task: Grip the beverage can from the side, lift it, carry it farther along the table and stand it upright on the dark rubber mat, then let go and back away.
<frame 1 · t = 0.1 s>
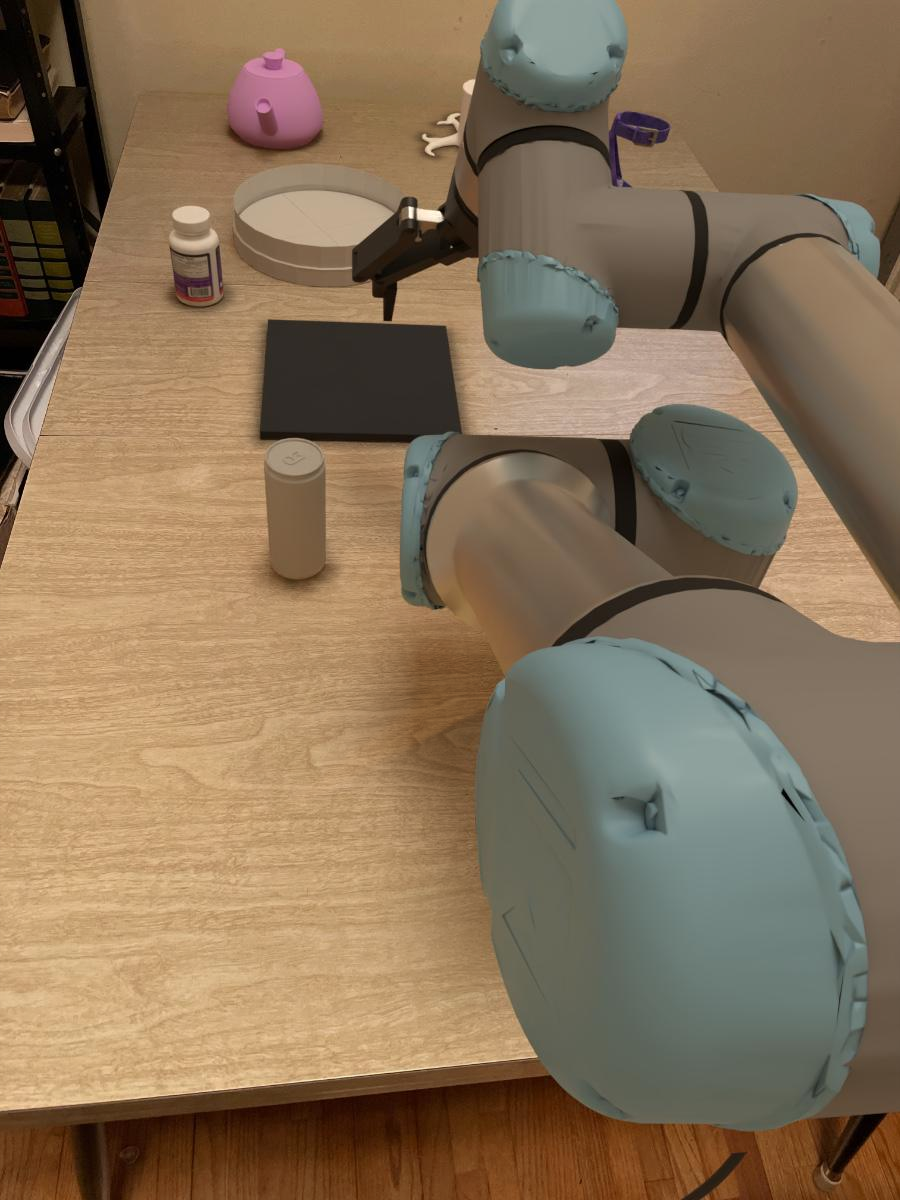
hand: (463, 309, 86), 15 cm above the table, tool tilted 35°, fingers open, 13 cm apart
tree stump: (482, 145, 146), on the table
pill bottle: (200, 297, 111), on the table
sandal: (647, 235, 132), on the table
teapot: (275, 136, 142), on the table
mat: (359, 382, 102), on the table
dish: (322, 242, 122), on the table
beverage can: (298, 564, 84), on the table
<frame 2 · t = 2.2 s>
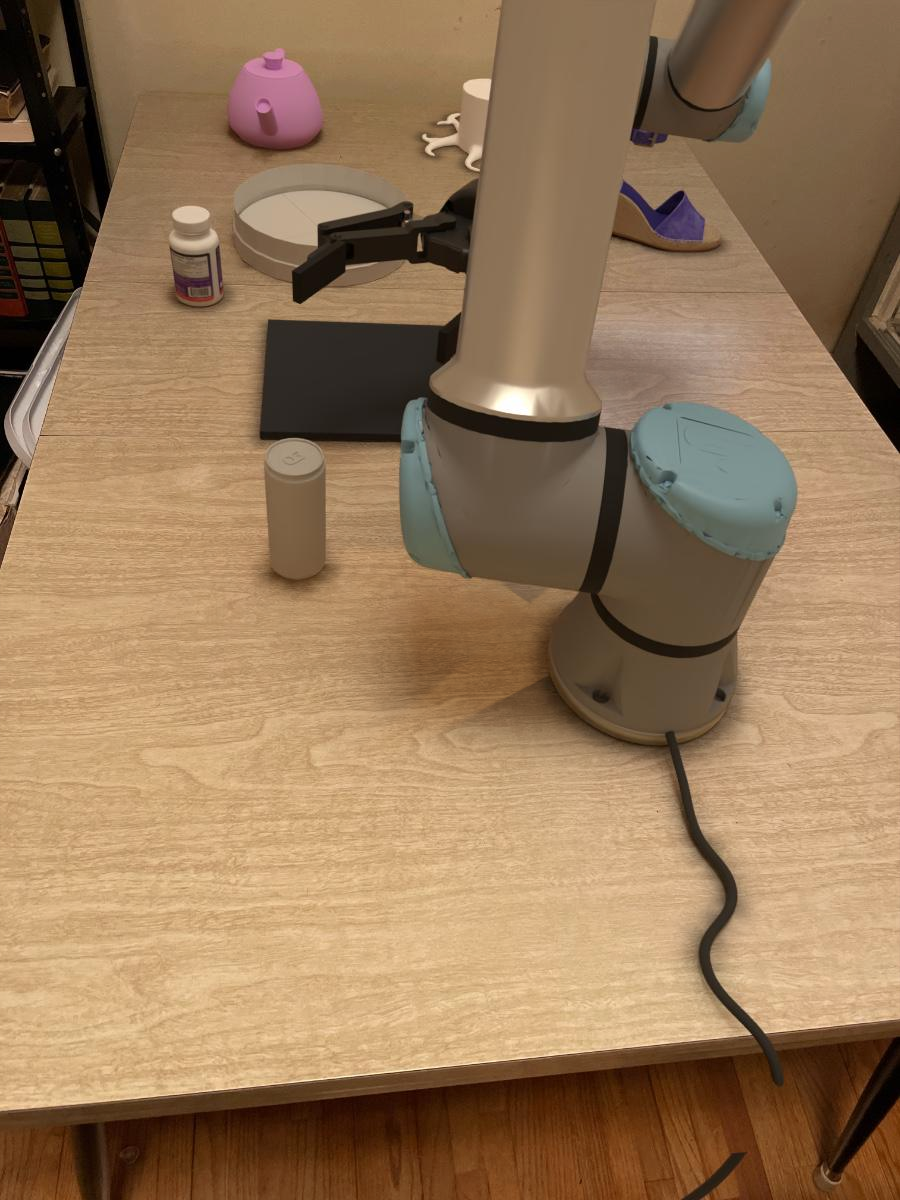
hand: (366, 317, 75), 20 cm above the table, tool horizontal, fingers open, 13 cm apart
nothing on the table moved.
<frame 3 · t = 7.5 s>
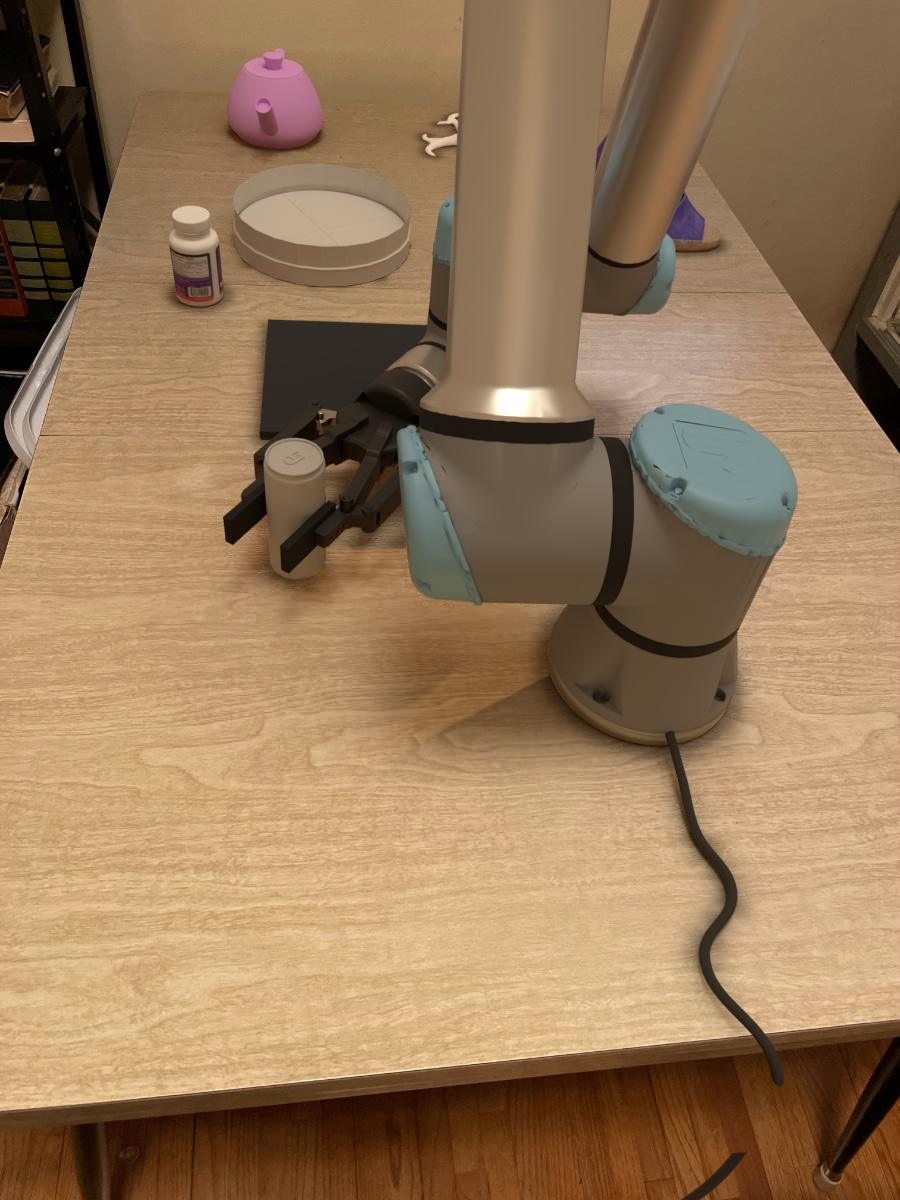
hand: (256, 545, 76), 7 cm above the table, tool horizontal, fingers closed on beverage can, 5 cm apart
beverage can: (298, 565, 84), on the table, touching gripper
everything else where it was.
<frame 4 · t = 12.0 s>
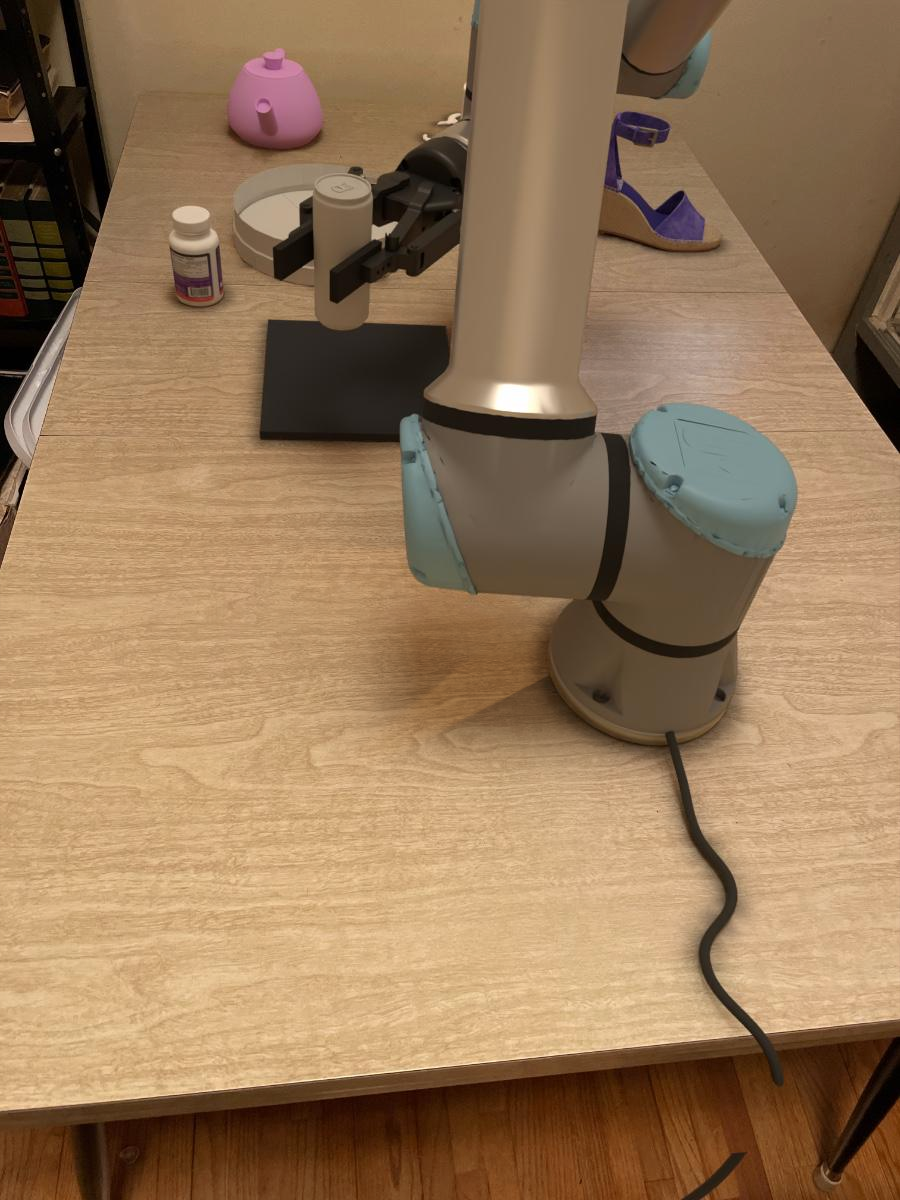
hand: (305, 275, 78), 20 cm above the table, tool horizontal, fingers closed on beverage can, 5 cm apart
beverage can: (341, 320, 86), point 13 cm above the table, touching gripper
everything else where it was.
when the fingers open (7 cm above the table, at t = 17.0 s): beverage can stays where it is, resting on mat.
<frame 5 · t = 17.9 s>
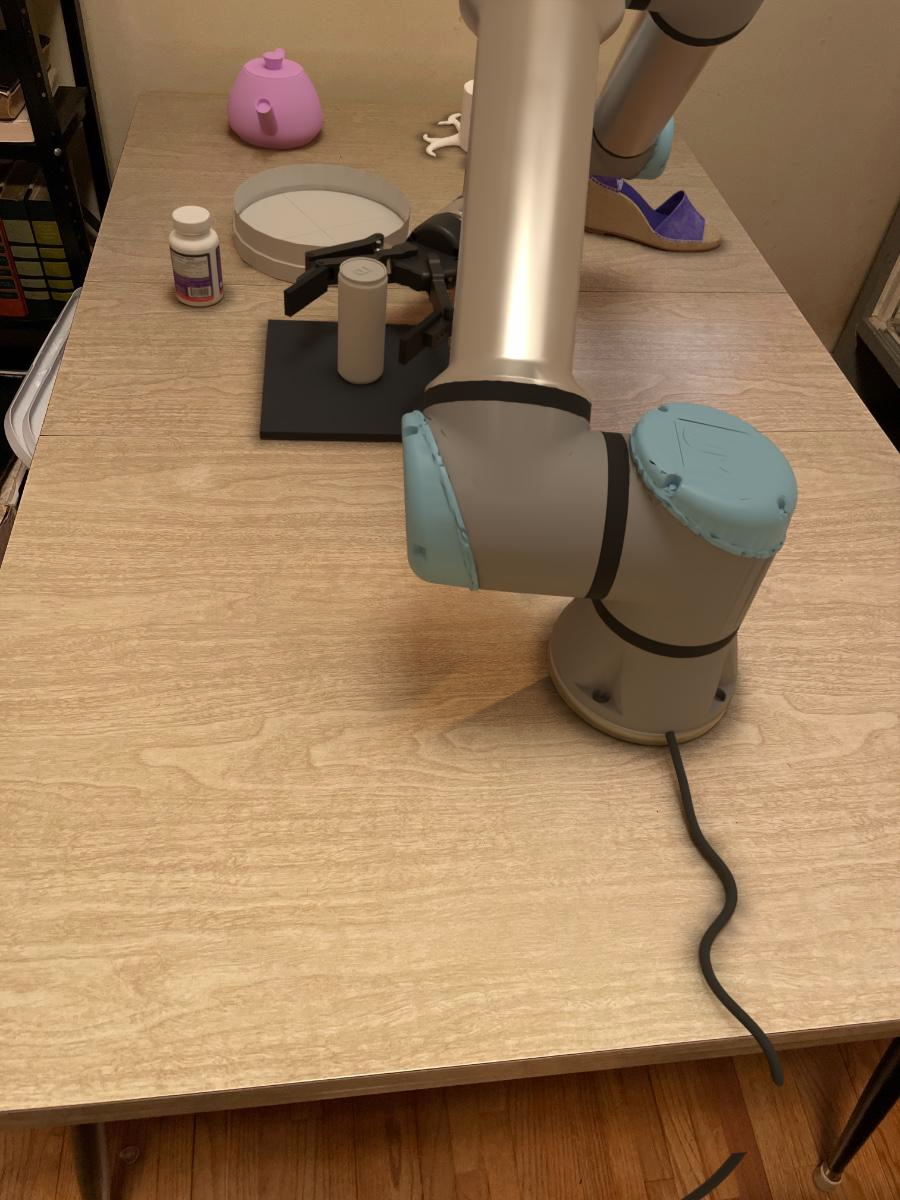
hand: (343, 327, 94), 8 cm above the table, tool horizontal, fingers open, 13 cm apart
beverage can: (360, 375, 102), point 1 cm above the table, touching mat
everything else where it was.
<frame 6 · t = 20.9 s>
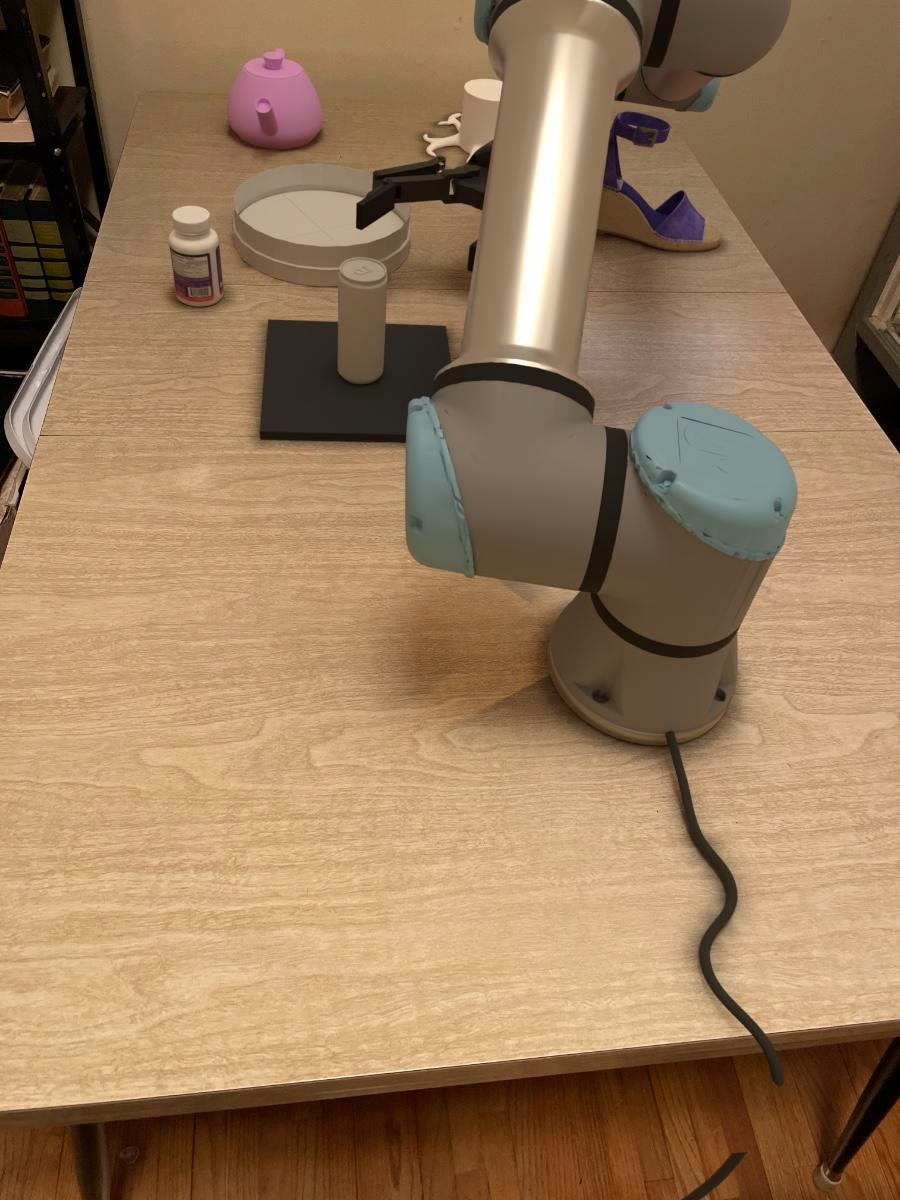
hand: (413, 237, 99), 13 cm above the table, tool horizontal, fingers open, 13 cm apart
nothing on the table moved.
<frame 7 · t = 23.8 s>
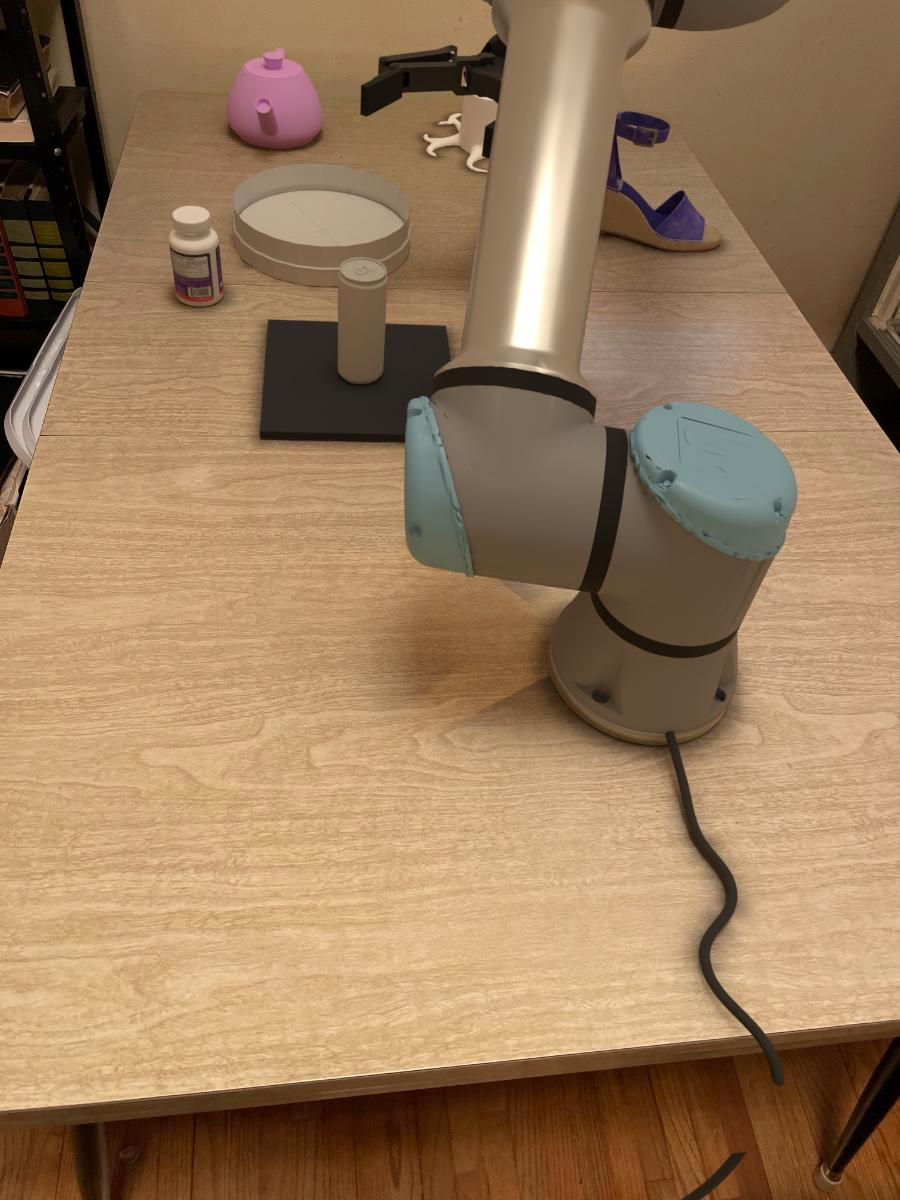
hand: (423, 121, 91), 24 cm above the table, tool horizontal, fingers open, 13 cm apart
nothing on the table moved.
at the end: beverage can inside the target area on the mat (0.1 cm from its centre), point 0.8 cm above the mat's base; beverage can tilted 0°; the gripper is holding nothing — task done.
